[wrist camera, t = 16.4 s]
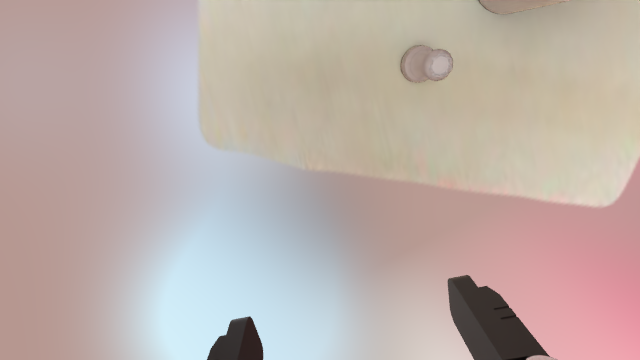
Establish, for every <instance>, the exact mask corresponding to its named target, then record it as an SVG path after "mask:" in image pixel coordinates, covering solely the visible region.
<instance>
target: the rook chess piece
mask: <svg viewBox="0 0 640 360" xmlns="http://www.w3.org/2000/svg"><path fill="white" fill-rule="evenodd" d="M401 68H402V72H403V74H404V76H405V77H406V78H407V79H408V80H409V81H412V82H423V81H426V80H427V79H430V80H433V81H438V80H442V79H444V78H445V77H447V76H448V74H449V73H450V72H451V70H452V68H453V59H452V57H451V54H450V53H449V52H447V51H446V50H443V49H437V50H434V51H433V50H432V49H431V48H430V47H427V46H422V45H419V46H414V47H412V48H411V49H409V50H408V51H407V52H406V54H405V55H404V56H403V59H402V63H401Z"/></svg>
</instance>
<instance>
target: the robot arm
mask: <svg viewBox="0 0 640 360" xmlns="http://www.w3.org/2000/svg"><path fill="white" fill-rule="evenodd" d="M479 1H480V3H481V4H482V5H483V6H484V7H485V8H486V9H488V10H490V11H492V12H494V13H498V14H510V13H514V12H519V11H524V10H528V9H534V8H538V7H543V6H547V5H552V4H556V3H561V2H565V1H570V0H479ZM448 291H449V303H450V311H451V315H452V318H453V321H454V323H455V325H456V327H457V329H458V331H459V332H460V334H461V336H462V338H463V340H464V342H465V344H466V345H467V347H468V349H469V351H470V353H471V354H472V356H473V358H474V360H557V359H554V358H552V357H550V356H549V355H548V354H547V353H546V352H545V350H544V349H543V348H542V347H541V345H540V344H539V343H538V342H537V340H536V339H535V338H534V337H533V335H532V334H531V333H530V332H529V331H528V329H527V328H526V327H525V326H524V324H523V323H522V322H521V320H520V319H519V318H518V317H516V314H515V313H514V312H513V311H512V309H511V308H509V306H508V304H507V303H506V302H505V301H504V300H503V298H502V297H501V296H500V295H499V294H498V293H497V292H495V291H493V290H492V289H490V288H488V287H487V286H484V287H479V288H478V287H477V286H476V284H475V283H474V281H473V280H472V279H471V278H470V276H468V275H465V276H460V277H454V278H449V279H448ZM207 360H263V347H262V343H261V340H260V338H259V335H258V333H257V330H256V327H255V325H254V322H253V320H252V318H251V317H245V318H240V319H235V320H232V321H231V322H230V324H229V328H228V331H227V334H226V335H224V336H220V337H219V338H218V339H217V341H216V342H215V344H214V345H213V346H212V348H211V350H210V353H209V356H208V359H207Z"/></svg>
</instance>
